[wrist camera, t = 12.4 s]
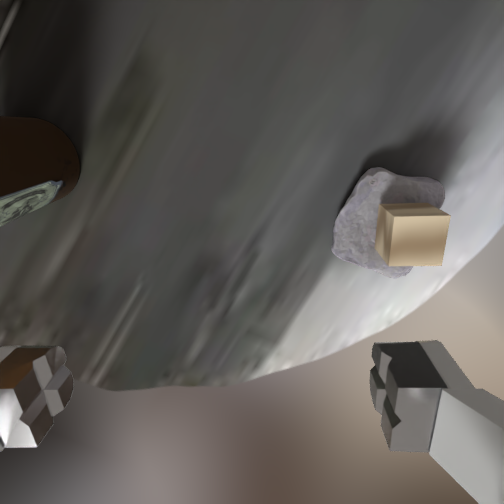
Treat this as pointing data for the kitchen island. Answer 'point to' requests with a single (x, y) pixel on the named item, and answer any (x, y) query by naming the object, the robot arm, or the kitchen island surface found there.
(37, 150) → the olive oil
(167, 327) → the kitchen island surface
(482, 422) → the robot arm
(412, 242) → the maple block
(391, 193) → the stone block
